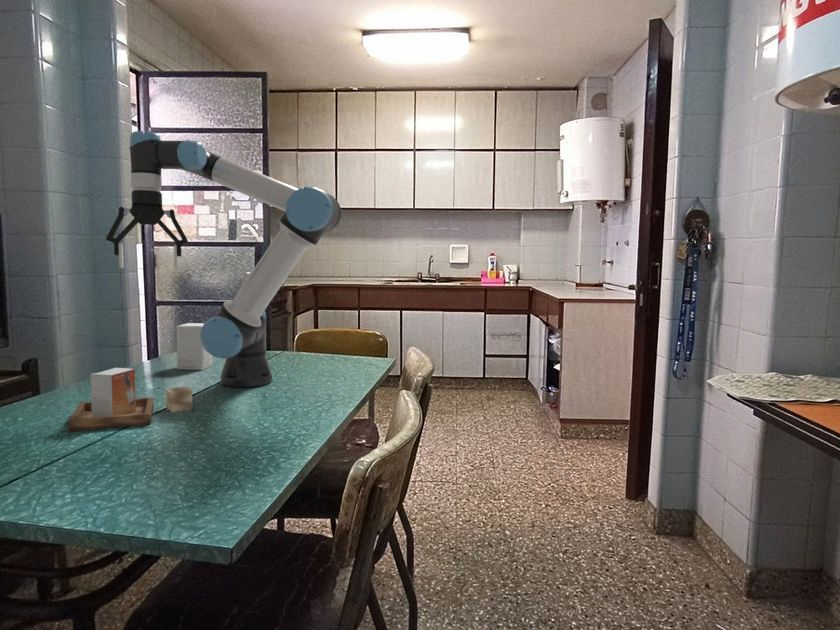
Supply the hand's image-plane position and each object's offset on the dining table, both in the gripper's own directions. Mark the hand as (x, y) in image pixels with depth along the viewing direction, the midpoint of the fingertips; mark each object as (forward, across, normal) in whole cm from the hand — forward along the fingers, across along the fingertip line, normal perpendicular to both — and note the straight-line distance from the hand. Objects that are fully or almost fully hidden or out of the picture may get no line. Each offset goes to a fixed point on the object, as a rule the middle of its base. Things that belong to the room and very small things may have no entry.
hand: (149, 268), depth 154 cm
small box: (+34, +7, +27) cm, 44 cm away
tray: (+35, +7, +27) cm, 45 cm away
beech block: (+35, -7, +23) cm, 42 cm away
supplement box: (+35, -12, -30) cm, 48 cm away
